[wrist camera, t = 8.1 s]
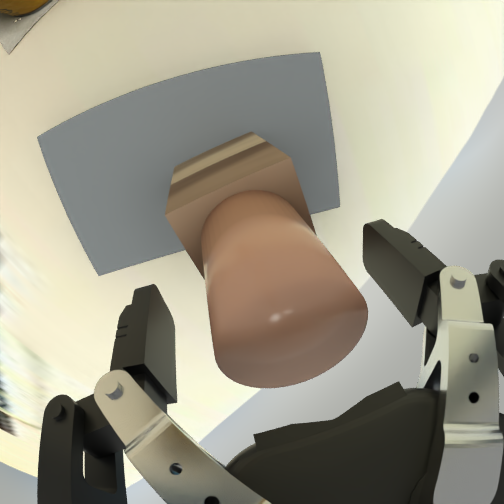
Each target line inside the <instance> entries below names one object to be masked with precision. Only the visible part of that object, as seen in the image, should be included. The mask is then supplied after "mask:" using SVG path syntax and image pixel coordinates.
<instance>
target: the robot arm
mask: <svg viewBox="0 0 504 504" xmlns="http://www.w3.org/2000/svg"><path fill="white" fill-rule="evenodd" d="M363 263H364V266H365V269H366V270H367V272H368V273H369V274H370V276H371V277H372V278H373V279H374V280H375V282H376V283H377V284H378V285H379V286H380V288H381V289H382V290H383V291H384V293H385V294H386V295H387V296H388V297H389V299H390V300H391V301H392V302H393V304H394V305H395V306H396V307H397V309H398V310H399V311H400V312H401V314H402V315H403V316H404V318H405V319H406V320H407V321H408V323H409V324H410V325H411V326H412V327H414V326H416V325H418V324H420V323H422V322H423V323H424V325H425V328H424V333H423V348H422V361H421V371H420V376H419V380H418V383H417V386H416V388H408V389H403V387H402V386H401V384H400V383H399V382H396V383H394V384H392V385H390V386H388V387H386V388H384V389H382V390H380V391H378V392H375V393H373V394H371V395H369V396H367V397H365V398H364V399H363V400H362V401H360V402H359V403H357V404H356V405H354V406H353V407H352V408H350V409H349V410H347V411H346V412H345V413H343V414H342V415H340V416H339V417H337V418H335V419H333V420H328V421H320V422H310V423H299V424H290V425H287V426H284V427H281V428H277V429H273V430H269V431H265V432H262V433H258V434H254V439H255V444H253V445H251V446H249V447H247V448H246V449H244V450H243V451H241V452H240V453H239V454H238V455H236V456H235V457H234V458H233V459H232V460H231V461H230V462H229V463H228V465H227V466H225V465H223V464H222V463H221V462H220V461H218V460H217V459H216V458H215V457H214V456H212V455H211V454H210V453H209V452H207V451H206V450H205V449H204V448H203V447H202V446H200V445H199V444H198V443H197V442H196V441H195V440H194V439H193V438H192V437H191V436H189V435H188V434H187V433H186V432H185V431H184V430H183V429H182V428H181V427H180V426H179V425H178V424H177V423H176V422H175V421H174V420H173V419H172V418H171V417H170V416H169V415H168V414H167V404H171V403H177V388H176V360H175V325H174V321H173V318H172V315H171V313H170V311H169V309H168V307H167V305H166V303H165V302H164V300H163V298H162V296H161V294H160V292H159V290H158V288H157V286H156V285H155V284H152V285H148V286H145V287H141V288H138V289H135V291H134V295H133V300H132V304H131V305H127V306H126V307H125V309H124V310H123V312H122V313H121V315H120V317H119V321H118V326H117V328H118V330H117V332H116V339H115V342H114V348H113V354H112V360H111V366H110V372H108V373H106V374H105V375H103V376H102V377H101V378H100V380H99V381H98V382H97V384H96V386H95V389H94V394H92V395H90V396H87V397H85V398H83V399H81V400H79V401H77V402H75V401H74V400H73V399H71V398H70V397H69V396H67V395H58V396H56V397H54V398H53V399H52V400H51V401H50V402H49V403H48V405H47V406H46V408H45V411H44V417H43V424H42V431H41V440H40V450H39V463H38V491H37V494H38V495H37V497H38V504H127V496H126V486H125V475H124V462H123V449H124V452H125V454H126V456H127V457H128V459H129V460H130V461H131V463H132V464H133V465H134V467H135V468H136V469H137V470H138V472H139V473H140V474H141V475H142V476H143V478H144V479H145V480H146V481H147V482H148V483H149V485H150V486H151V487H152V488H153V489H154V490H155V491H156V492H157V493H158V495H159V496H160V497H161V498H162V499H163V500H164V501H165V502H166V503H167V504H504V414H502V413H499V377H498V369H499V370H500V372H501V373H502V375H503V376H504V318H503V317H504V260H495V261H493V262H492V263H491V264H490V267H489V270H488V273H486V274H479V275H473V274H472V273H471V272H470V271H469V270H467V269H465V268H463V267H460V266H448V267H447V266H446V265H444V264H443V263H442V262H441V261H440V260H439V259H438V258H437V257H436V256H435V255H433V254H432V253H431V252H430V251H429V250H428V249H427V248H425V247H423V245H422V244H421V243H420V242H418V241H417V240H416V239H415V238H414V237H412V236H411V235H410V234H409V233H407V232H405V231H402V230H400V229H398V228H393V227H392V226H391V225H390V224H389V223H387V222H386V221H385V220H383V219H381V220H377V221H374V222H370V223H367V224H365V225H364V227H363ZM83 451H84V452H85V479H84V476H83Z"/></svg>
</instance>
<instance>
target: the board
mask: <svg viewBox="0 0 504 504" xmlns="http://www.w3.org/2000/svg"><path fill="white" fill-rule="evenodd" d="M249 132H253V133H255V134H256V135H258V136H259V137H261V138H262V139H264V140H265V141H267V142H269V143H270V144H272V145H273V146H275V147H276V148H278V149H279V150H280V151H282V152H283V153H285V154H286V155H288V156H289V157H291V160H292V163H293V165H294V168H295V171H296V174H297V177H298V180H299V183H300V186H301V189H302V192H303V195H304V198H305V201H306V204H307V207H308V210H309V213H310V215H311V214H315V213H319V212H322V211H326V210H330V209H334V208H338V207H340V198H339V185H338V173H337V163H336V153H335V144H334V136H333V128H332V120H331V113H330V106H329V100H328V93H327V87H326V81H325V76H324V70H323V65H322V60H321V55H320V52H314V53H301V54H290V55H281V56H273V57H266V58H259V59H253V60H247V61H241V62H236V63H231V64H226V65H221V66H217V67H212V68H208V69H204V70H200V71H196V72H192V73H188V74H185V75H181V76H178V77H174V78H171V79H168V80H164V81H161V82H158V83H155V84H152V85H149V86H146V87H143V88H141V89H138V90H135V91H132V92H130V93H127V94H125V95H122V96H119V97H117V98H115V99H112V100H110V101H107V102H105V103H103V104H100V105H98V106H96V107H94V108H91V109H89V110H87V111H85V112H83V113H81V114H79V115H77V116H75V117H73V118H71V119H69V120H67V121H65V122H63V123H61V124H59V125H57V126H55V127H54V128H52V129H50V130H48V131H46V132H45V133H43V134H41V135H40V136H38V137H37V139H38V142H39V145H40V148H41V151H42V154H43V156H44V159H45V162H46V165H47V167H48V170H49V173H50V175H51V178H52V180H53V183H54V185H55V188H56V190H57V193H58V195H59V197H60V200H61V202H62V204H63V207H64V209H65V211H66V213H67V215H68V218H69V220H70V222H71V224H72V226H73V228H74V230H75V232H76V234H77V236H78V238H79V240H80V242H81V244H82V246H83V248H84V250H85V252H86V254H87V256H88V258H89V260H90V261H91V263H92V265H93V267H94V269H95V270H96V272H97V274H98V276H101V275H104V274H107V273H110V272H113V271H117V270H120V269H123V268H126V267H130V266H133V265H136V264H140V263H143V262H146V261H149V260H153V259H156V258H159V257H163V256H166V255H169V254H173V253H176V252H180V251H183V250H186V249H185V248H184V246H183V245H182V243H181V241H180V240H179V238H178V236H177V235H176V233H175V232H174V230H173V228H172V227H171V225H170V223H169V222H168V220H167V218H166V217H165V211H166V206H167V200H168V195H169V190H170V185H171V181H172V176H173V171H174V167H175V166H177V165H179V164H181V163H183V162H185V161H187V160H189V159H191V158H193V157H195V156H197V155H199V154H201V153H203V152H206V151H208V150H210V149H212V148H214V147H216V146H219V145H221V144H223V143H225V142H228V141H230V140H232V139H234V138H237V137H239V136H241V135H244V134H246V133H249Z"/></svg>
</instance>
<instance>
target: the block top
mask: <svg viewBox="0 0 504 504" xmlns="http://www.w3.org/2000/svg"><path fill="white" fill-rule="evenodd" d="M249 190H263V191H268V192H272V193H275V194H277V195H279V196H281V197H282V198H284V199H285V200H286V201H288V202H289V203H290V204H291V205H292V207H293V208H294V209H295V210H296V211H297V213H298V214H299V215H300V216H301V218H302V219H303V220H304V221H305V222H306V224H307V225H308V226H309V227H310V229H311V230H312V231H313V232H314V233H315V229H314V226H313V223H312V220H311V216H310V213H309V210H308V207H307V204H306V201H305V198H304V195H303V192H302V189H301V186H300V183H299V180H298V177H297V174H296V171H295V168H294V165H293V163H292V160H291V157H289V156H288V155H286V154H285V153H283V152H282V151H280V150H279V149H278V148H276V147H275V146H273V145H272V144H270V143H269V142H267V141H265V142H263V143H260V144H258V145H255V146H253V147H251V148H248V149H246V150H244V151H241V152H239V153H237V154H234V155H232V156H230V157H228V158H225V159H223V160H221V161H219V162H217V163H215V164H212V165H210V166H208V167H206V168H204V169H202V170H200V171H198V172H196V173H194V174H191V175H189V176H187V177H185V178H183V179H181V180H179V181H177V182H175V183H173V184H172V185H170V190H169V195H168V200H167V206H166V211H165V217H166V218H167V220H168V222H169V223H170V225H171V227H172V228H173V230H174V232H175V233H176V235H177V236H178V238H179V240H180V241H181V243H182V245H183V246H184V248H185V249H186V251H187V253H188V254H189V256H190V257H191V259H192V261H193V262H194V264H195V265H196V267H197V269H198V270H199V272H200V273H201V275H202V276H203V278H204V280H205V276H204V266H203V257H202V246H201V234H202V229H203V226H204V223H205V221H206V219H207V217H208V215H209V214H210V212H211V211H212V210H213V209H214V208H215V207H216V206H217V205H218V204H219V203H220V202H222V201H223V200H225V199H226V198H228V197H230V196H232V195H234V194H237V193H239V192H243V191H249ZM315 235H316V233H315Z"/></svg>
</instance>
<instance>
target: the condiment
mask: <svg viewBox="0 0 504 504" xmlns="http://www.w3.org/2000/svg"><path fill="white" fill-rule="evenodd" d="M57 1H58V0H0V43H1V44H2V46H3V47H4V49H5V50H6V52H7V53H8V54H10V52H11V51H12V50H13V48H14V47H15V46H16V44H17V43H18V42H19V41H20V40H21V39H22V38H23V36H24V35H25V34H26V33H27V32H28V31H29V29H30V28H31V27H32V26H33V25H34V24H35V23H36V22H37V21H38V20H39V19H40V18H41V17H42V16H43V15H44V14H45V13H46V12H47V11H48V10H49V9H50V8H51V7H52V6H53V5H54V4H55V3H56V2H57ZM19 18H21V20H18V19H19ZM15 20H17V22H15V23H14V21H15Z"/></svg>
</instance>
